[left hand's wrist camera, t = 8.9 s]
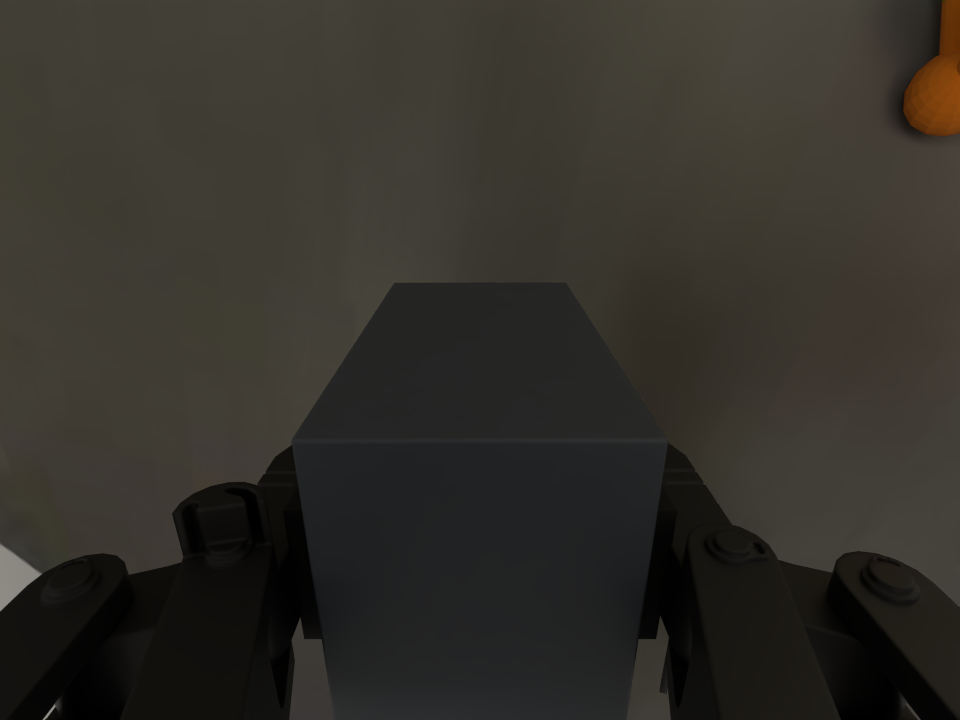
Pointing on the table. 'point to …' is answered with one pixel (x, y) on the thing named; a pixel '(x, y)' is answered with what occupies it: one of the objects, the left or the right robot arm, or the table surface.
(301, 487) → the bar
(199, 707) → the left robot arm
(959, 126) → the molecular model
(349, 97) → the table surface
